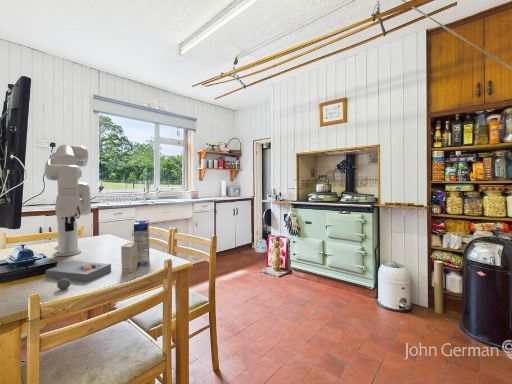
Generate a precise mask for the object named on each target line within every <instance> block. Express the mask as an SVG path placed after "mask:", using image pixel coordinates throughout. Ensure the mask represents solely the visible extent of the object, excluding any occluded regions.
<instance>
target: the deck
mask: <svg viewBox="0 0 512 384" xmlns="http://www.w3.org/2000/svg"><path fill="white" fill-rule="evenodd" d="M85 266H91V267H92V269H90V270H82V268H83V267H85ZM110 272H112V264H111V263H104V262H102V263H101V262H89V261H79V260H70V261H68V262H66V263H63V264H61V265H57V266H54V267H51V268H48V269H45V279H52V280H53V279H54V280H61V279H63V278H67V279H69V280H70V282H82V283H88V282H89V283H90V282H91V281H93V280H95V279H98V278H100V277H102V276H104V275H106V274H108V273H110Z"/></svg>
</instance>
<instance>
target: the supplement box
mask: <svg viewBox="0 0 512 384" xmlns="http://www.w3.org/2000/svg"><path fill="white" fill-rule="evenodd" d="M120 248H121V249H120V250H121V251H120V254H121V257H120V258H121V274H132V273H134V272H135V270H137V269H138V268H139V267H138V263H137V242H134V241H132V242H131V241H129V242H126V243H125V244H123V245H121V246H120Z"/></svg>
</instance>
